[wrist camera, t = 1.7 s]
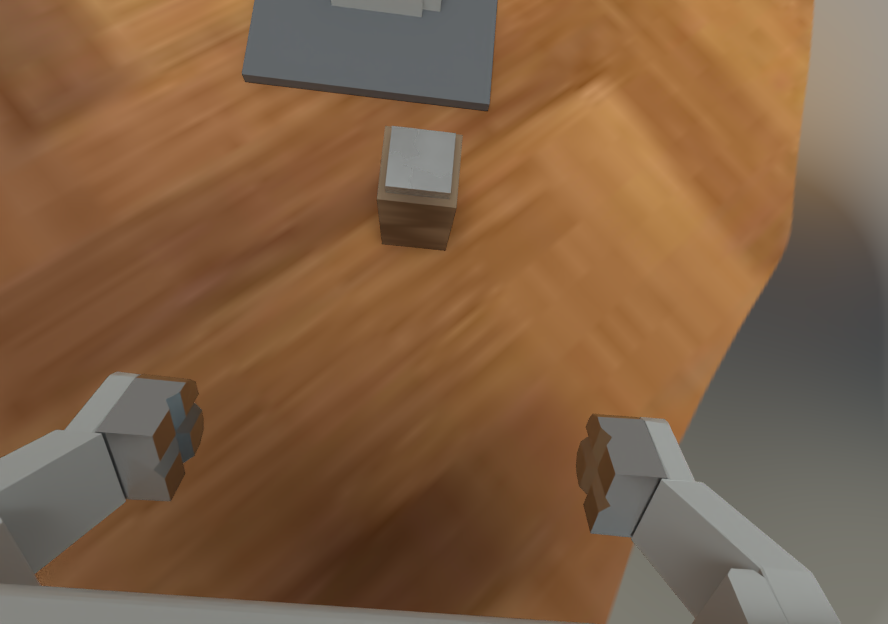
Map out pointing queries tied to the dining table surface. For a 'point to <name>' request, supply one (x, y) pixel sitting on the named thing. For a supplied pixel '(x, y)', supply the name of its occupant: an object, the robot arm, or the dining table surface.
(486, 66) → the end holder
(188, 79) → the dining table surface
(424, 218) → the plug
